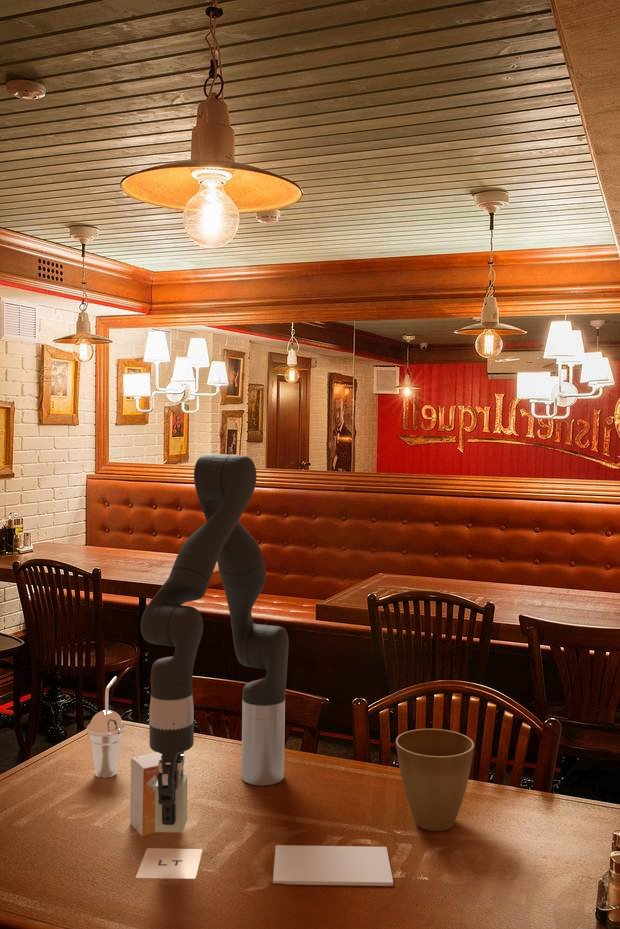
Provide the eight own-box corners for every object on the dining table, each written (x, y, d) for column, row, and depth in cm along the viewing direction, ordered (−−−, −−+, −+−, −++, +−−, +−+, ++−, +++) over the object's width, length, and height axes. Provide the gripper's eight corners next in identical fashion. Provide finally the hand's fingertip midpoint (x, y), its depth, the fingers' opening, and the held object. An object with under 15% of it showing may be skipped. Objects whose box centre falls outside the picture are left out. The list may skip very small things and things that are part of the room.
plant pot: (453, 802, 172) (455, 725, 172) (485, 837, 158) (487, 752, 157) (383, 809, 169) (385, 730, 168) (410, 845, 154) (412, 758, 154)
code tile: (146, 849, 151) (146, 848, 151) (202, 850, 151) (202, 849, 151) (135, 878, 141) (135, 877, 141) (195, 879, 141) (195, 878, 141)
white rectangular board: (275, 848, 152) (275, 845, 152) (386, 850, 152) (386, 846, 152) (272, 884, 140) (272, 880, 140) (393, 885, 140) (393, 882, 140)
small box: (142, 838, 155) (142, 768, 155) (129, 824, 161) (129, 757, 160) (182, 827, 160) (183, 759, 159) (168, 814, 165) (169, 748, 165)
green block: (159, 818, 149) (160, 774, 148) (187, 819, 149) (187, 774, 148) (154, 832, 144) (155, 786, 143) (183, 832, 144) (183, 786, 143)
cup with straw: (77, 775, 183) (77, 683, 182) (109, 762, 190) (110, 674, 190) (104, 785, 178) (104, 691, 177) (135, 771, 185) (136, 681, 185)
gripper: (187, 735, 138) (187, 837, 139) (198, 705, 152) (198, 798, 153) (141, 735, 138) (141, 836, 139) (157, 705, 152) (157, 797, 153)
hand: (171, 816), depth 146 cm, fingers closed on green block, 4 cm apart
